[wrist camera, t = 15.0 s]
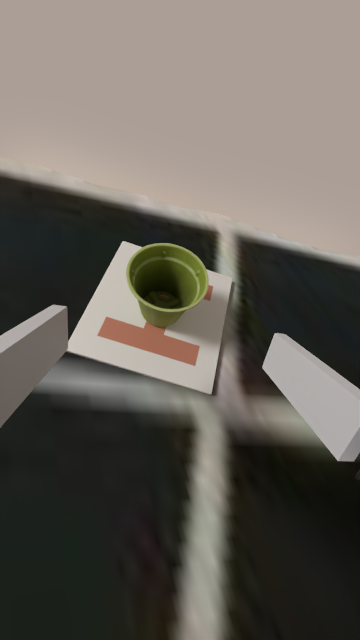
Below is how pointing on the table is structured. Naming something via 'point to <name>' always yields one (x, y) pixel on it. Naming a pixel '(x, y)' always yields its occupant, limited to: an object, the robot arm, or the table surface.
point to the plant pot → (166, 282)
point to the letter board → (152, 331)
